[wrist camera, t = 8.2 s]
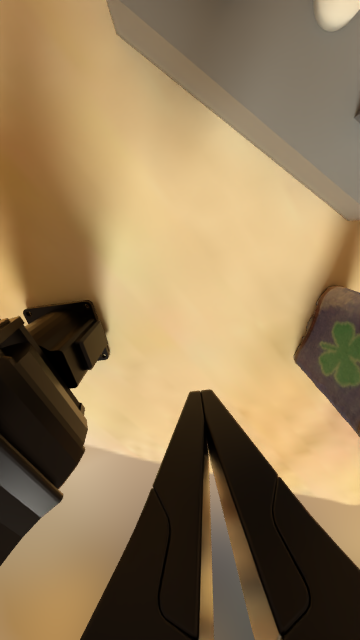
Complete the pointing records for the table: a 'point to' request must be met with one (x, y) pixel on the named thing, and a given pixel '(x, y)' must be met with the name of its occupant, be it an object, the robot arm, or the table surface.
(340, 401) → the flask
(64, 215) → the table surface
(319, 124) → the switch panel
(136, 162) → the table surface
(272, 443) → the table surface
